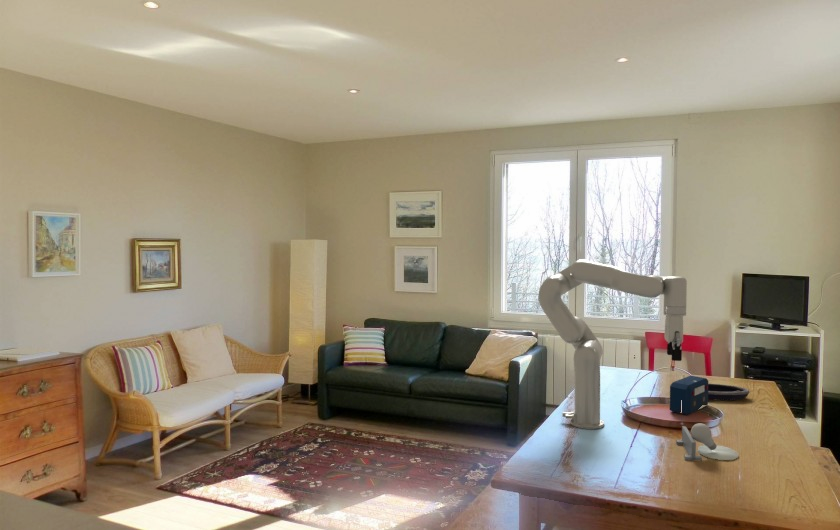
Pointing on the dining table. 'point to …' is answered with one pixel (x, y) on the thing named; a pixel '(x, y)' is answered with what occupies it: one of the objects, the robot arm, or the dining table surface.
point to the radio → (688, 394)
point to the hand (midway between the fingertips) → (674, 357)
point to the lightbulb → (703, 435)
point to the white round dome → (718, 452)
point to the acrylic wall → (688, 445)
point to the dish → (726, 392)
